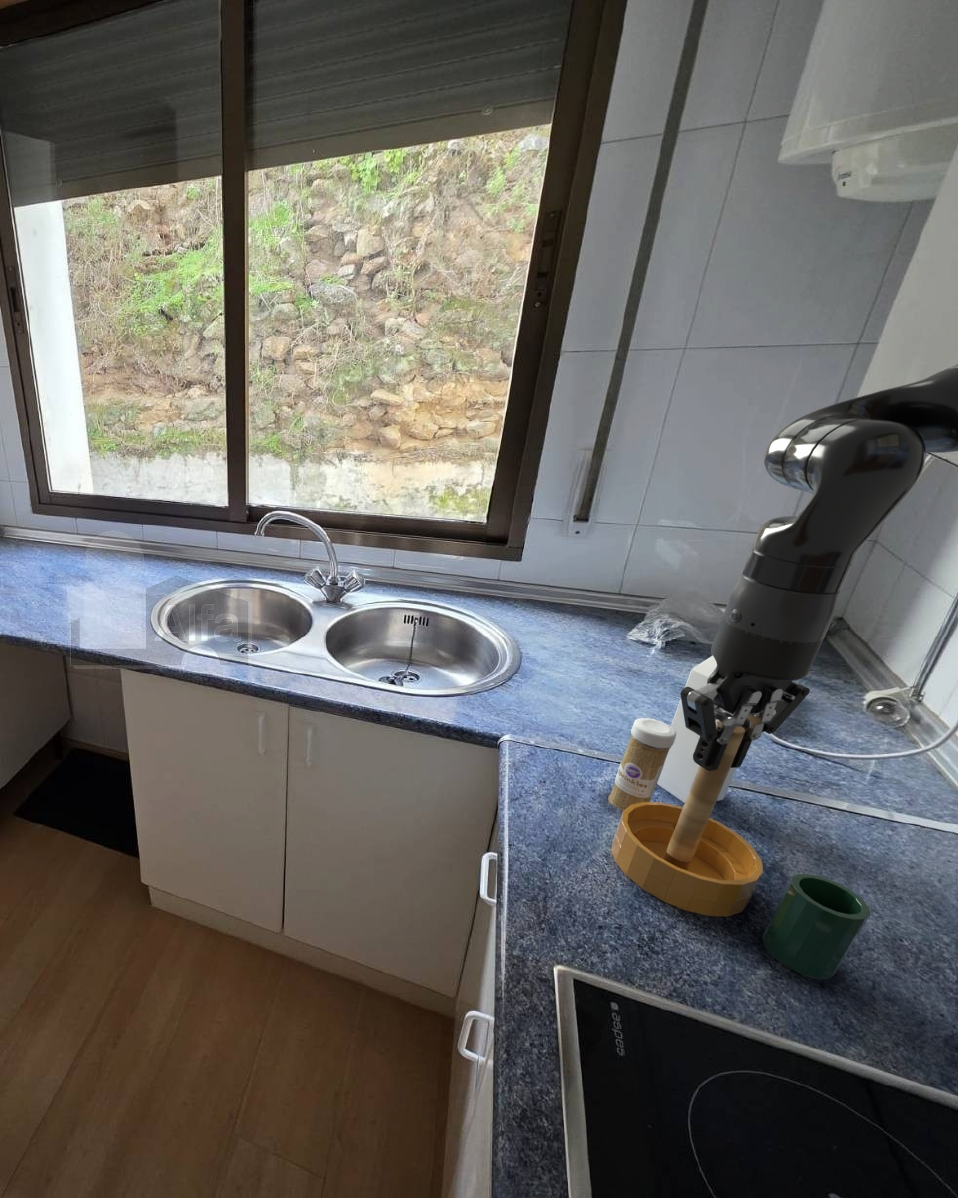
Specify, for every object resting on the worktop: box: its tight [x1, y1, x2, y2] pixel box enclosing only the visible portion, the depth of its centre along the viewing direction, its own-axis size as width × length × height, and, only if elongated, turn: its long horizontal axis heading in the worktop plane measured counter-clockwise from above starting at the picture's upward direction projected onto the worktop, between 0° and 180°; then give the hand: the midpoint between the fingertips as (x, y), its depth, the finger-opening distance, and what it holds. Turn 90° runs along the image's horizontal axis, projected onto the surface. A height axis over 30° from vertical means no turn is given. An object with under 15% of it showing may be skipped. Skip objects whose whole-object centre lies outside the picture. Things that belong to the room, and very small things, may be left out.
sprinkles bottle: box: [607, 717, 676, 812], centre depth 85 cm, size 5×5×13 cm
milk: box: [657, 654, 737, 804], centre depth 87 cm, size 6×6×22 cm
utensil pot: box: [761, 873, 871, 980], centre depth 65 cm, size 6×6×9 cm
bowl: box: [610, 801, 764, 918], centre depth 76 cm, size 13×13×6 cm
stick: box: [663, 721, 745, 871], centre depth 71 cm, size 2×2×20 cm
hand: (715, 764), depth 69 cm, fingers closed on stick, 2 cm apart
